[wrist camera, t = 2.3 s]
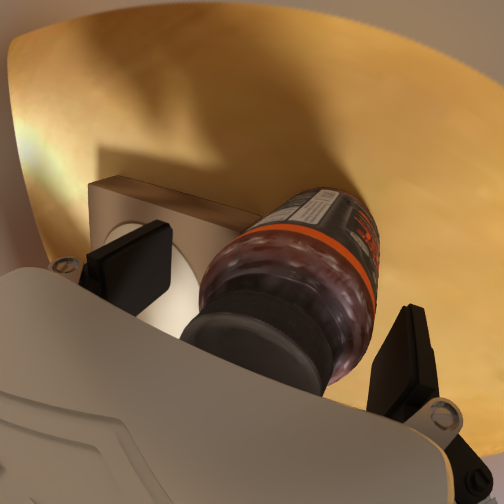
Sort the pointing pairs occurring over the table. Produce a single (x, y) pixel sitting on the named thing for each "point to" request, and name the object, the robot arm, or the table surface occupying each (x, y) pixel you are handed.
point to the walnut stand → (183, 245)
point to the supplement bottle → (294, 292)
